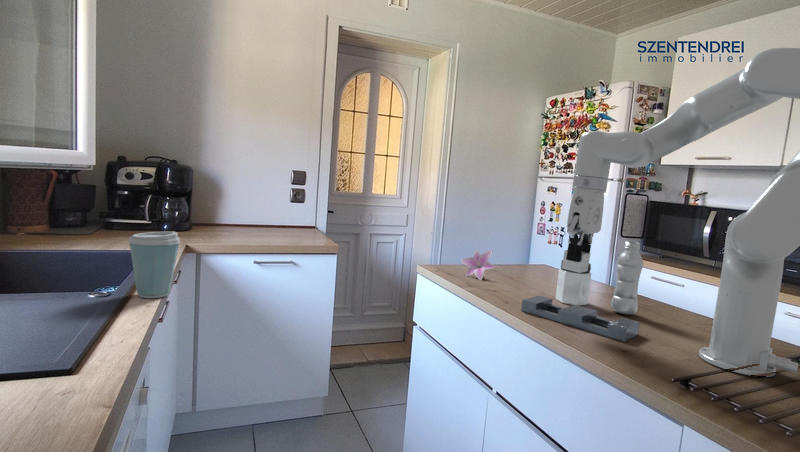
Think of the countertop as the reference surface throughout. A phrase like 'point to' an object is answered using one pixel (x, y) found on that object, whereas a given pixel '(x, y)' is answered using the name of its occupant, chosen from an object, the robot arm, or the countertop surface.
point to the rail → (581, 318)
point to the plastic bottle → (627, 279)
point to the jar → (573, 286)
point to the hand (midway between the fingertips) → (577, 259)
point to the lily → (478, 263)
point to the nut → (576, 263)
